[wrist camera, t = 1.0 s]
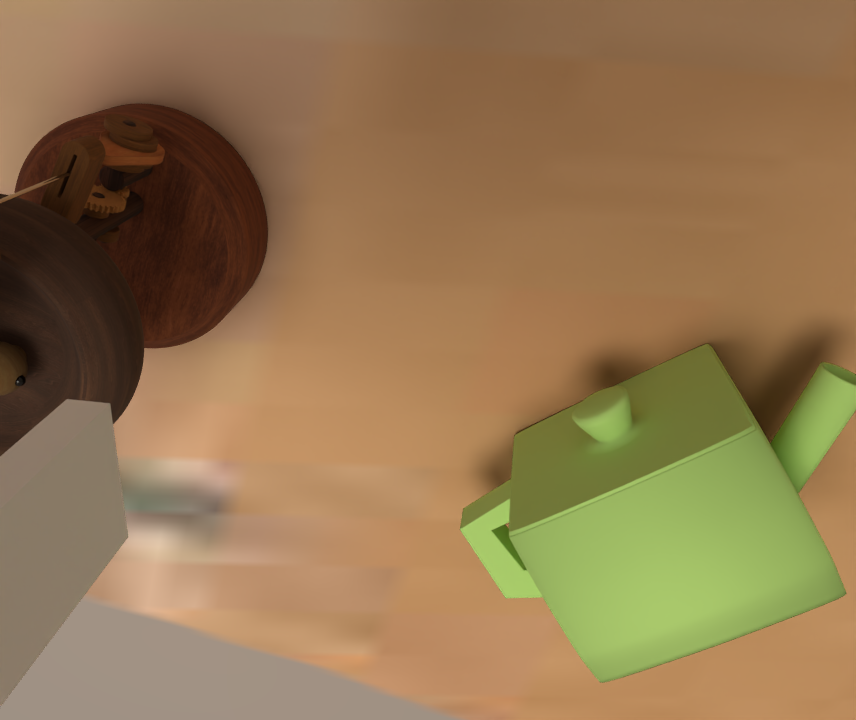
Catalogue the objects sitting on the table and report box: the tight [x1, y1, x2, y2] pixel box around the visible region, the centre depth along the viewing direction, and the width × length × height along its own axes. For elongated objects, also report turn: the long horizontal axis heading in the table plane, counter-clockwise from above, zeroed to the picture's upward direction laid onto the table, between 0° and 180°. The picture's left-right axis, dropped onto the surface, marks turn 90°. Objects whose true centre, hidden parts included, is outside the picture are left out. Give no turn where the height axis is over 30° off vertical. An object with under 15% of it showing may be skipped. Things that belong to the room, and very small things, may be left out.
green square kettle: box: [460, 344, 856, 683], centre depth 35 cm, size 18×10×10 cm, turn 122°
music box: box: [0, 104, 267, 456], centre depth 29 cm, size 15×11×20 cm
